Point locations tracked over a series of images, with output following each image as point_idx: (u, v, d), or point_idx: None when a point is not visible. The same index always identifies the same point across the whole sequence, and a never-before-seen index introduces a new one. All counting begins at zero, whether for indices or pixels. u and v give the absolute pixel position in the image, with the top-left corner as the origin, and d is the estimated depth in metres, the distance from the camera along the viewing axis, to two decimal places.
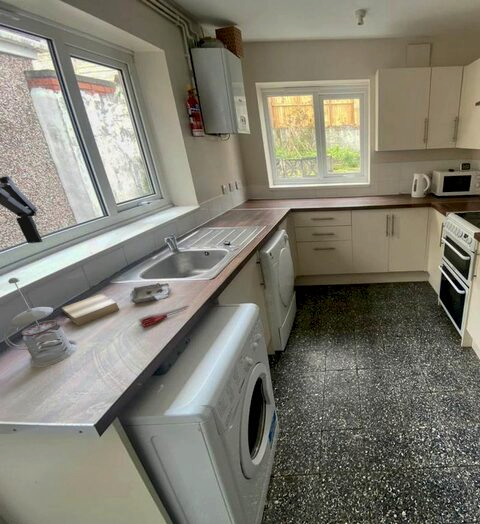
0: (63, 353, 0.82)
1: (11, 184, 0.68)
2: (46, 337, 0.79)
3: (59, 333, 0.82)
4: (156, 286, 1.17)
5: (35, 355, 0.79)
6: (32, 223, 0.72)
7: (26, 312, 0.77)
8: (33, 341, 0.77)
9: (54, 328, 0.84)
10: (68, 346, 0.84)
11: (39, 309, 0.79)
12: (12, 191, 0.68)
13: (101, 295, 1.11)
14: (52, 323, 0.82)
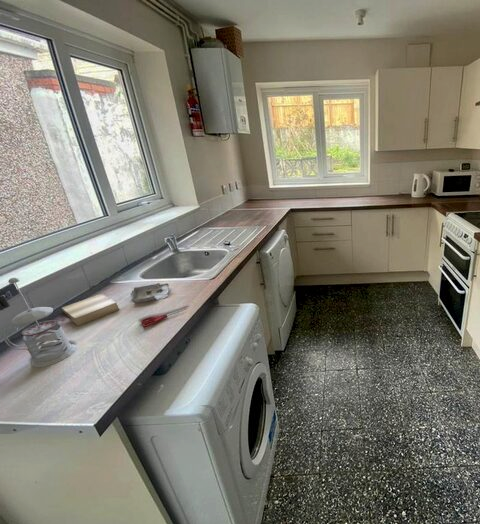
0: (63, 353, 0.82)
1: None
2: (46, 337, 0.79)
3: (59, 333, 0.82)
4: (156, 286, 1.17)
5: (35, 355, 0.79)
6: None
7: (26, 312, 0.77)
8: (33, 341, 0.77)
9: (54, 328, 0.84)
10: (68, 346, 0.84)
11: (39, 309, 0.79)
12: None
13: (101, 295, 1.11)
14: (52, 323, 0.82)
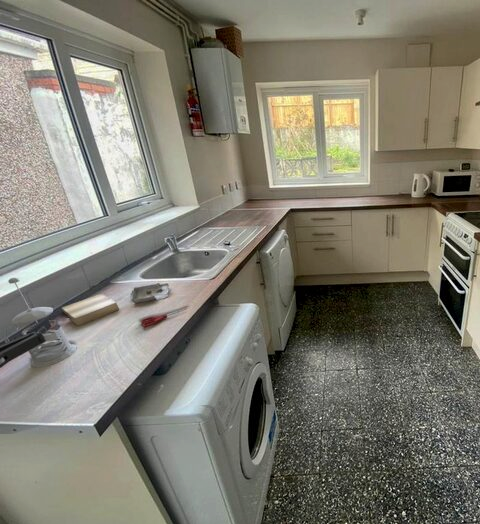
0: (63, 353, 0.82)
1: None
2: (46, 337, 0.79)
3: (59, 333, 0.82)
4: (156, 286, 1.17)
5: (35, 355, 0.79)
6: None
7: (26, 312, 0.77)
8: None
9: (54, 328, 0.84)
10: (68, 346, 0.84)
11: (39, 309, 0.79)
12: None
13: (101, 295, 1.11)
14: (52, 323, 0.82)
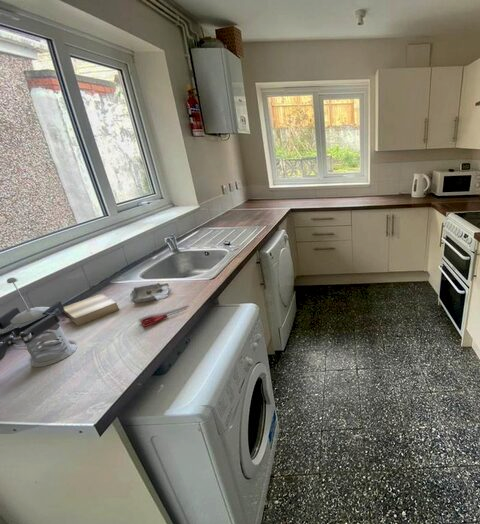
0: (63, 353, 0.82)
1: None
2: (45, 337, 0.79)
3: (59, 332, 0.82)
4: (156, 286, 1.17)
5: (35, 355, 0.79)
6: None
7: (25, 312, 0.77)
8: (32, 341, 0.77)
9: (54, 328, 0.84)
10: (68, 346, 0.84)
11: (38, 309, 0.79)
12: None
13: (101, 295, 1.11)
14: None
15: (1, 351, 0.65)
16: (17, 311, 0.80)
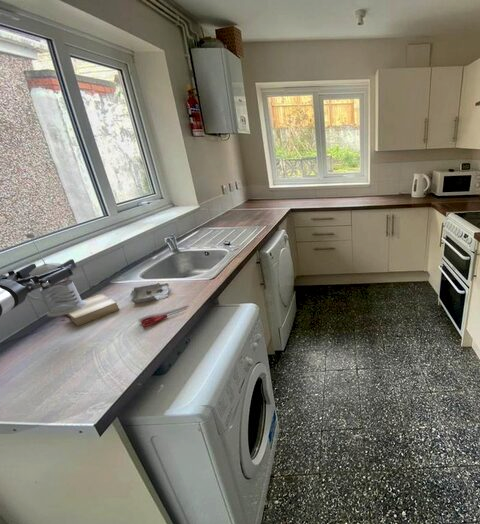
0: (75, 306, 0.91)
1: None
2: (60, 289, 0.87)
3: (71, 287, 0.90)
4: (156, 286, 1.17)
5: (50, 306, 0.87)
6: None
7: (42, 266, 0.85)
8: (48, 292, 0.85)
9: (67, 284, 0.93)
10: (79, 300, 0.92)
11: (53, 264, 0.87)
12: None
13: (101, 295, 1.11)
14: None
15: (23, 293, 0.73)
16: (34, 266, 0.88)
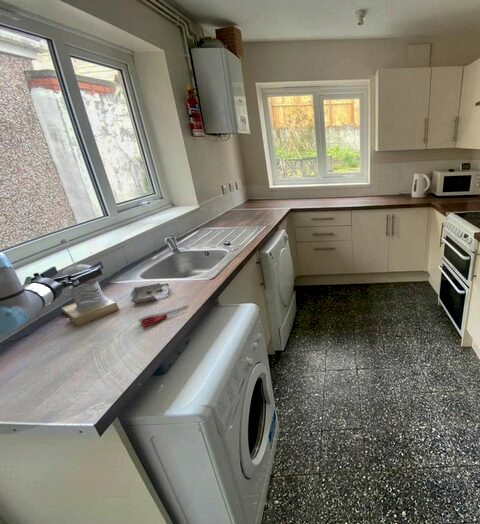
0: (99, 302, 1.04)
1: None
2: (87, 287, 1.00)
3: (96, 285, 1.03)
4: (156, 286, 1.17)
5: (78, 302, 1.00)
6: None
7: (72, 267, 0.98)
8: (78, 290, 0.99)
9: (91, 283, 1.06)
10: (103, 297, 1.06)
11: (82, 265, 1.00)
12: None
13: None
14: None
15: (59, 289, 0.86)
16: (55, 269, 1.00)
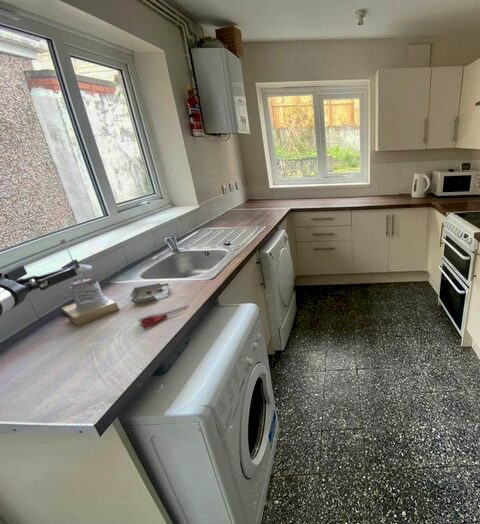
0: (99, 302, 1.04)
1: None
2: (87, 287, 1.00)
3: (96, 285, 1.03)
4: (156, 286, 1.17)
5: (78, 302, 1.00)
6: None
7: None
8: (78, 290, 0.99)
9: (91, 283, 1.06)
10: (103, 297, 1.06)
11: (82, 265, 1.00)
12: None
13: None
14: (90, 278, 1.03)
15: (23, 293, 0.74)
16: (23, 269, 0.87)
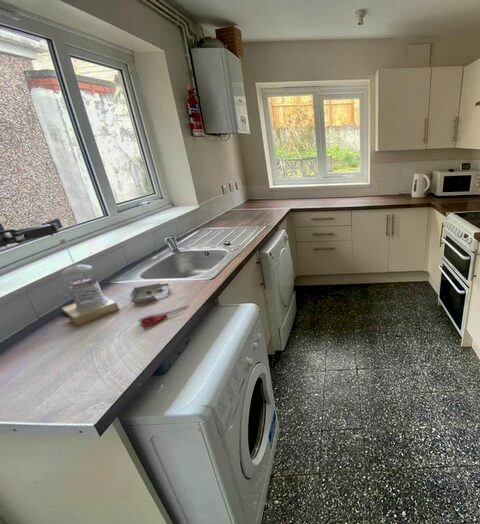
0: (99, 302, 1.04)
1: None
2: (87, 287, 1.00)
3: (96, 285, 1.03)
4: (156, 286, 1.17)
5: (78, 302, 1.00)
6: None
7: (72, 267, 0.98)
8: (78, 290, 0.99)
9: (91, 283, 1.06)
10: (103, 297, 1.06)
11: (82, 265, 1.00)
12: None
13: None
14: (90, 278, 1.03)
15: None
16: (1, 227, 0.82)
